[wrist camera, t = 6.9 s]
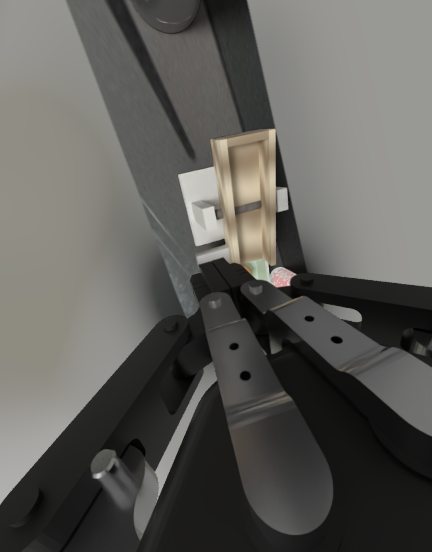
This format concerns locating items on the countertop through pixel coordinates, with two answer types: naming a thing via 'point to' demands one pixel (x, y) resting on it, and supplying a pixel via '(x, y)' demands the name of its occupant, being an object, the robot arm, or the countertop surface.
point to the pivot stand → (210, 204)
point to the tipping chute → (245, 197)
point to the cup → (259, 269)
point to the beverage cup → (281, 277)
